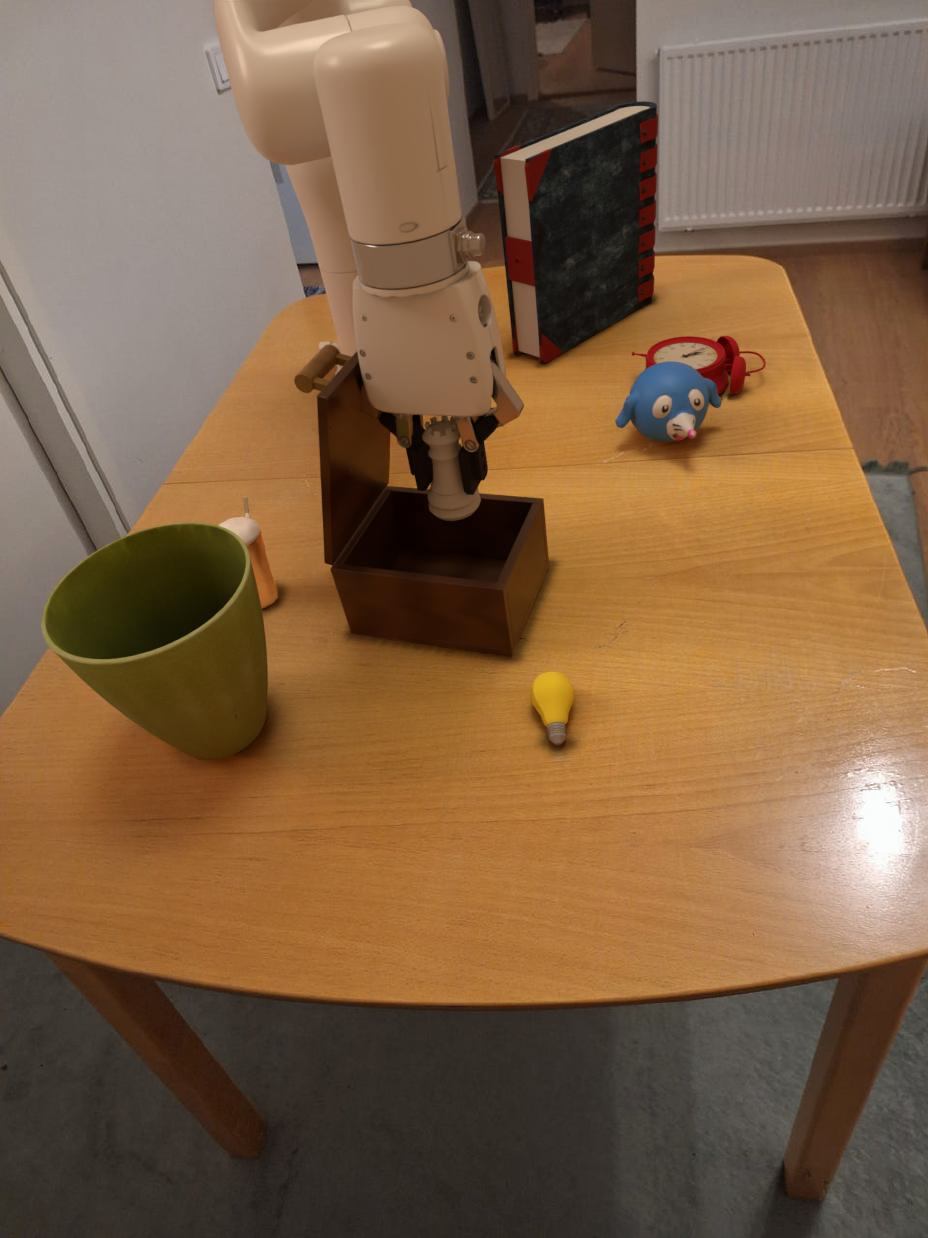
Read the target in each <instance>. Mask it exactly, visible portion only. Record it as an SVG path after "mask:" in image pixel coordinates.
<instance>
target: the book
mask: <svg viewBox="0 0 928 1238" xmlns="http://www.w3.org/2000/svg"><path fill="white" fill-rule="evenodd" d="M658 135H659V114H658V104H657V103H655V102H653V101H645V100H644V101H643V100H642V101H641V100H640V101H630V102H623V103H619V104H616V105H614V106H612V107H610V108H608V109H605V110H603V111H600V112H598V113H595V114H593V115H590V116H588V117H585V118H583V119H579V120H578V121H575V122H573V123H571V124H568V125H565V126H562V127H561V128H558V129H555V130H553V131H550V132H548V133H546V134H543V135H541V136H538V137H535V138H533V139H531V140H528V141H526V142H524V143H520V144H519V145H517V144H516V145H515V146H512V147H509V148H507V149H505V150H502V151H501V152H499V153H496V154H494V155H493V168H494V169H493V170H494V175H495V184H496V190H497V198H498V199H497V200H498V207H499V208H498V209H499V210H498V211H499V218H500V229H501V240H502V250H503V259H504V269H505V279H506V290H507V299H508V310H509V312H508V313H509V320H510V321H509V322H510V330H511V331H510V332H511V343H512V352H513V355H514V356H517V355H519V354H523V353H525V354H528V355H531V356H533V357H537V358H539V360H540V364H541V365H545V364H546V363H549V362H551V361H552V360H555V359H556V358H557V357H559V356H561V355H563V354H564V353H565V352H567V351H569V350H571V349H572V348H574V347H576V346H577V345H579V344H581V343H583V342H585V341H587V340H588V339H589V338H592V337H593V336H595V335H597V334H598V333H600V332H602V331H603V330H605V329H607V328H608V327H611V326H612V325H614V324H616V323H617V322H619V321H621V320H622V319H624V318H626V317H628V316H629V315H631V314H633V313H635V312H636V311H638V310H640V309H641V308H643V307H645V306H648V305H650V304H652V302H653V296H654V293H655V274H654V271H655V263H656V252H655V249H654V248H655V245H656V226H655V222H656V218H657V200H656V198H655V197H656V193H657V185H658V184H657V181H658V179H657V178H658V176H657V175H658V174H657V172H656V167H657V165H658V144H657V137H658Z"/></svg>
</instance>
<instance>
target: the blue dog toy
mask: <svg viewBox="0 0 928 1238" xmlns="http://www.w3.org/2000/svg"><path fill="white" fill-rule="evenodd" d="M709 405H710V406H712V408H715V409H719V408H721V406H722V398H721V397H720V396H719V394H718V393H717V387H716V384H715V383H714V382H713V381H712V380H710V379H706V378H704V377H702V376H701V375H700V374H699V372H698V371H697V370H695V369H694V368H693V367H691V366H689V365H687V364H684V363H681V362H673V361H669V362H661V363H658V364H655V365H653V366H651V367H649V368H647V369H646V370H645V369H644V370H643V371H642V372H640V374H639V375H637V377H636V378H635V380H634V381H633V383H632V385H631V388H630V390H629V395H627V397H626V399H625V401H624V402H623V404H622V408H621V410H620V412H619V414H618V416H617V417H616V419H615V421H614V422H615V425H616V427H617V428H618V429H623V428H625V427H627V425H628V424H629V423H630V422H631V424H632V425H633V427H635V429H636V430H637V431H638V432H639V434H641V435H642V436H643V437H645V438H647V439H648V440H650V441H654V442H657V443H675V442H679V441H683V440H684V439H686V438H688V439H691V440H692V439H695V438H696V437H697V430H698V429H699V428H700V427H701V425H702V424H703V422H704V420H705V418H706V417H707V416H706V415H707V414H708V409H709Z"/></svg>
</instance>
